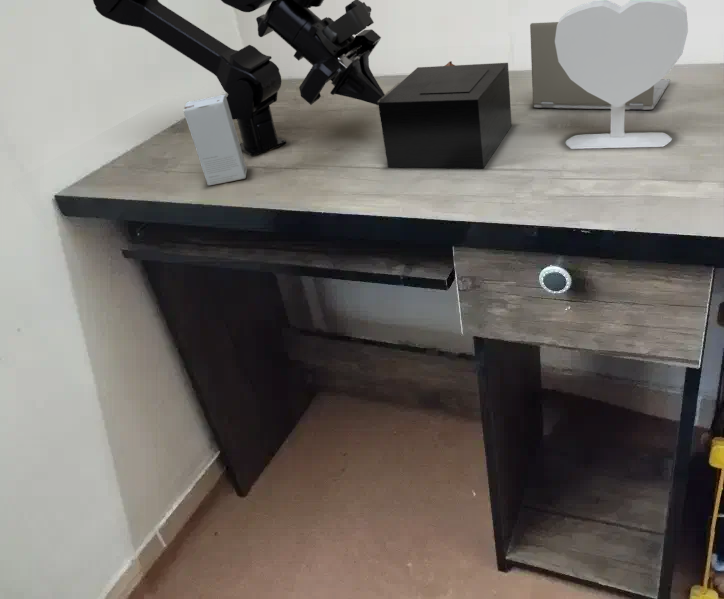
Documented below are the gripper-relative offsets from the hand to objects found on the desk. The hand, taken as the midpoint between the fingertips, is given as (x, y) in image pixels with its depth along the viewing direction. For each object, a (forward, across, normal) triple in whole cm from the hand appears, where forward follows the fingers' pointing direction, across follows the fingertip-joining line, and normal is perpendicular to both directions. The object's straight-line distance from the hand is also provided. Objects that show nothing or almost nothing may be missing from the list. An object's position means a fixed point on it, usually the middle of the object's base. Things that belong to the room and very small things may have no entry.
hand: (385, 103), depth 107 cm
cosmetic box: (-11, -13, +20) cm, 27 cm away
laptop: (+25, +20, -15) cm, 35 cm away
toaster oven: (+12, 0, -2) cm, 12 cm away
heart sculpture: (+28, +2, -18) cm, 33 cm away
